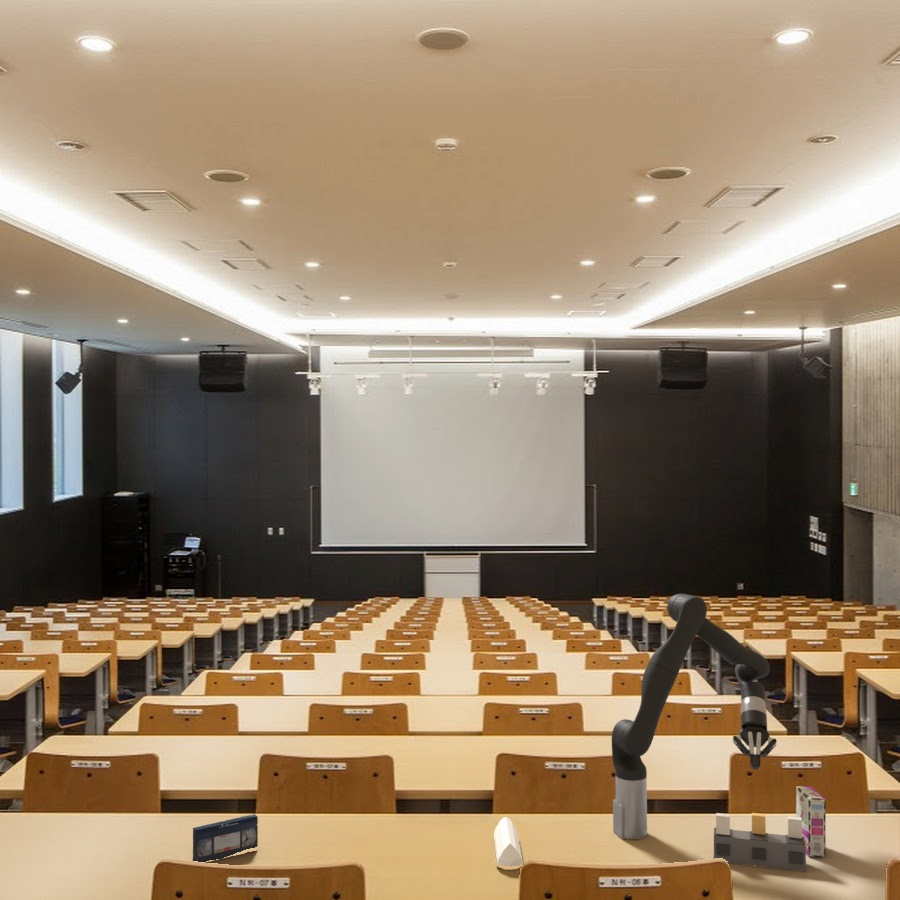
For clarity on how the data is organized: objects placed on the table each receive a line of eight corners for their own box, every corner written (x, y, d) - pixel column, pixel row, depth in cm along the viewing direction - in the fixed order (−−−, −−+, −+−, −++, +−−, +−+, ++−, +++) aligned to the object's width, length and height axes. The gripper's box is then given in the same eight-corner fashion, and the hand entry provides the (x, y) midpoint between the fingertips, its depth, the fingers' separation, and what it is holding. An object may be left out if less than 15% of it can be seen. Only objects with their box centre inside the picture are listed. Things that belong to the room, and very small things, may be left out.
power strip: (713, 862, 261) (713, 835, 261) (714, 852, 267) (714, 827, 267) (806, 872, 254) (805, 845, 254) (804, 862, 260) (804, 836, 260)
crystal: (486, 824, 279) (490, 858, 255) (507, 812, 279) (512, 844, 255) (499, 846, 279) (503, 882, 255) (519, 834, 279) (526, 868, 255)
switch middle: (752, 833, 262) (751, 815, 262) (751, 830, 264) (751, 812, 264) (765, 834, 261) (765, 816, 261) (765, 832, 263) (765, 814, 263)
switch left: (716, 833, 262) (716, 815, 262) (716, 831, 264) (716, 813, 264) (729, 835, 261) (729, 816, 261) (729, 832, 263) (729, 814, 263)
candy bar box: (827, 857, 263) (826, 798, 264) (809, 857, 264) (808, 798, 264) (812, 842, 275) (812, 785, 275) (795, 841, 275) (795, 785, 275)
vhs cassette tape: (195, 866, 260) (195, 830, 260) (191, 862, 262) (191, 826, 262) (258, 851, 269) (258, 816, 270) (255, 848, 272) (254, 813, 272)
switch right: (788, 837, 259) (787, 818, 259) (787, 834, 261) (787, 816, 261) (802, 838, 258) (801, 820, 258) (801, 835, 260) (801, 817, 260)
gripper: (730, 707, 285) (731, 760, 273) (777, 710, 282) (780, 763, 270) (730, 720, 290) (731, 772, 278) (776, 723, 287) (779, 776, 275)
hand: (755, 768), depth 274 cm, fingers closed
